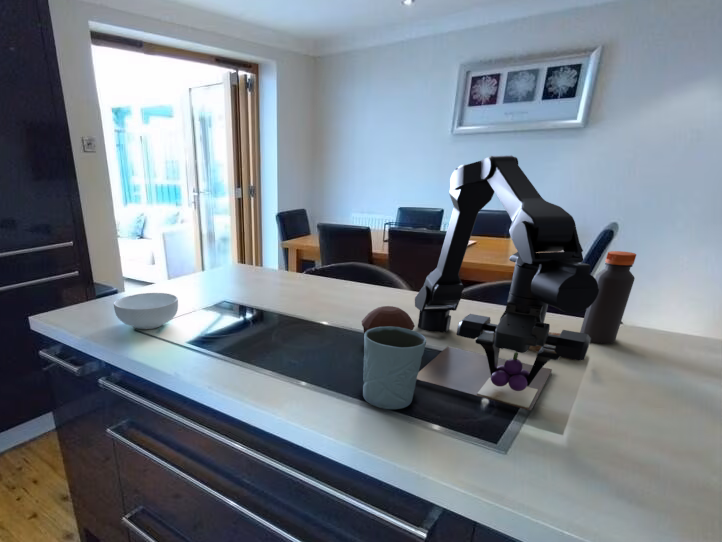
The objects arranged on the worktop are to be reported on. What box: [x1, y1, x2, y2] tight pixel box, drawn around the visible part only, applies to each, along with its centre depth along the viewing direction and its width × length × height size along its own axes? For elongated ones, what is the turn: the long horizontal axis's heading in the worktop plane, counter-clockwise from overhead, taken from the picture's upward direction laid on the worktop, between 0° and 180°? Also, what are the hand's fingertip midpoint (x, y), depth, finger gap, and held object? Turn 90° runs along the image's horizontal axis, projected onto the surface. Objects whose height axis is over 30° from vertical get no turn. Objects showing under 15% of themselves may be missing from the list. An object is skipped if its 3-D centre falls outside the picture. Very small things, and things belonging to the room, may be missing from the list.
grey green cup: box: [362, 327, 427, 410], centre depth 77 cm, size 10×10×12 cm
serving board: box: [417, 346, 553, 411], centre depth 85 cm, size 20×20×1 cm
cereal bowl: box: [113, 292, 179, 330], centre depth 119 cm, size 17×17×7 cm
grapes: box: [491, 351, 530, 391], centre depth 76 cm, size 6×6×6 cm
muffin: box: [361, 305, 416, 335], centre depth 98 cm, size 12×11×10 cm
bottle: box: [579, 250, 637, 345], centre depth 99 cm, size 7×7×20 cm
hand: (509, 380), depth 77 cm, fingers closed on grapes, 5 cm apart
